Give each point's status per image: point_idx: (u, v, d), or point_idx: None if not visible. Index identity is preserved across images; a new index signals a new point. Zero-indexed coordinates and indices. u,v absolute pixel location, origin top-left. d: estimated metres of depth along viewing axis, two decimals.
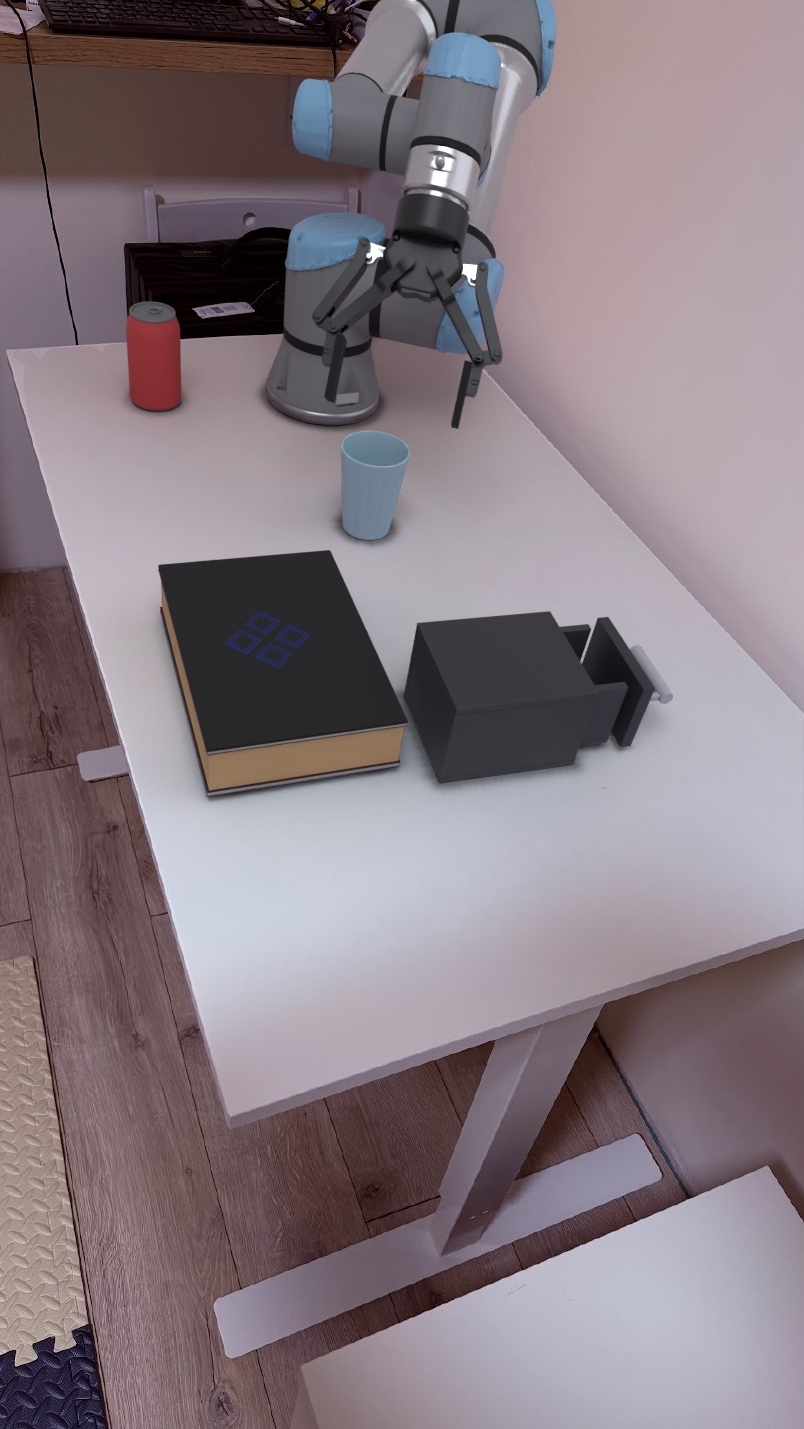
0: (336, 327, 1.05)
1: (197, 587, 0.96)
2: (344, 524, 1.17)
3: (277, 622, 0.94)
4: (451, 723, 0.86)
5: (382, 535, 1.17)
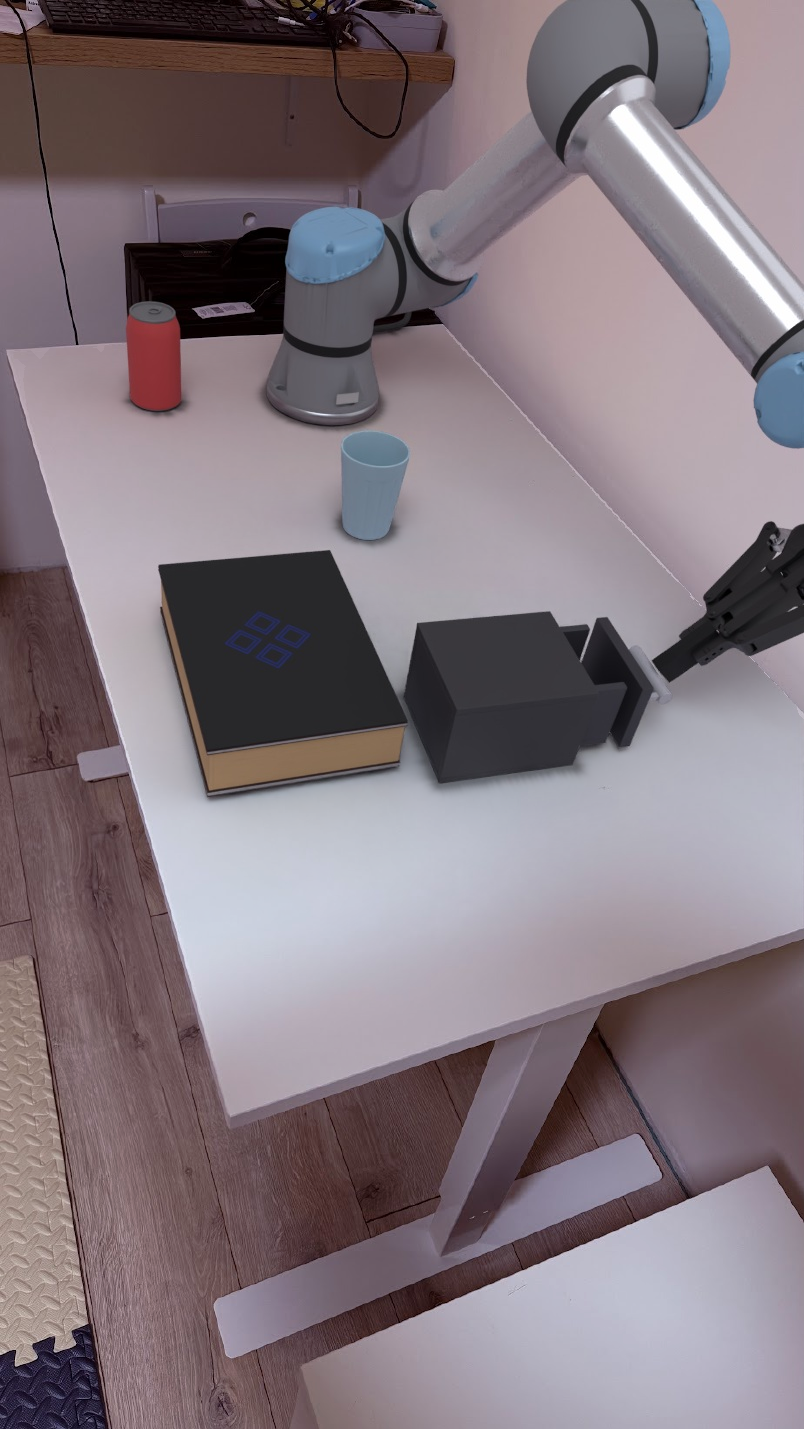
0: None
1: (197, 587, 0.96)
2: (344, 524, 1.17)
3: (277, 622, 0.94)
4: (451, 723, 0.86)
5: (382, 535, 1.17)
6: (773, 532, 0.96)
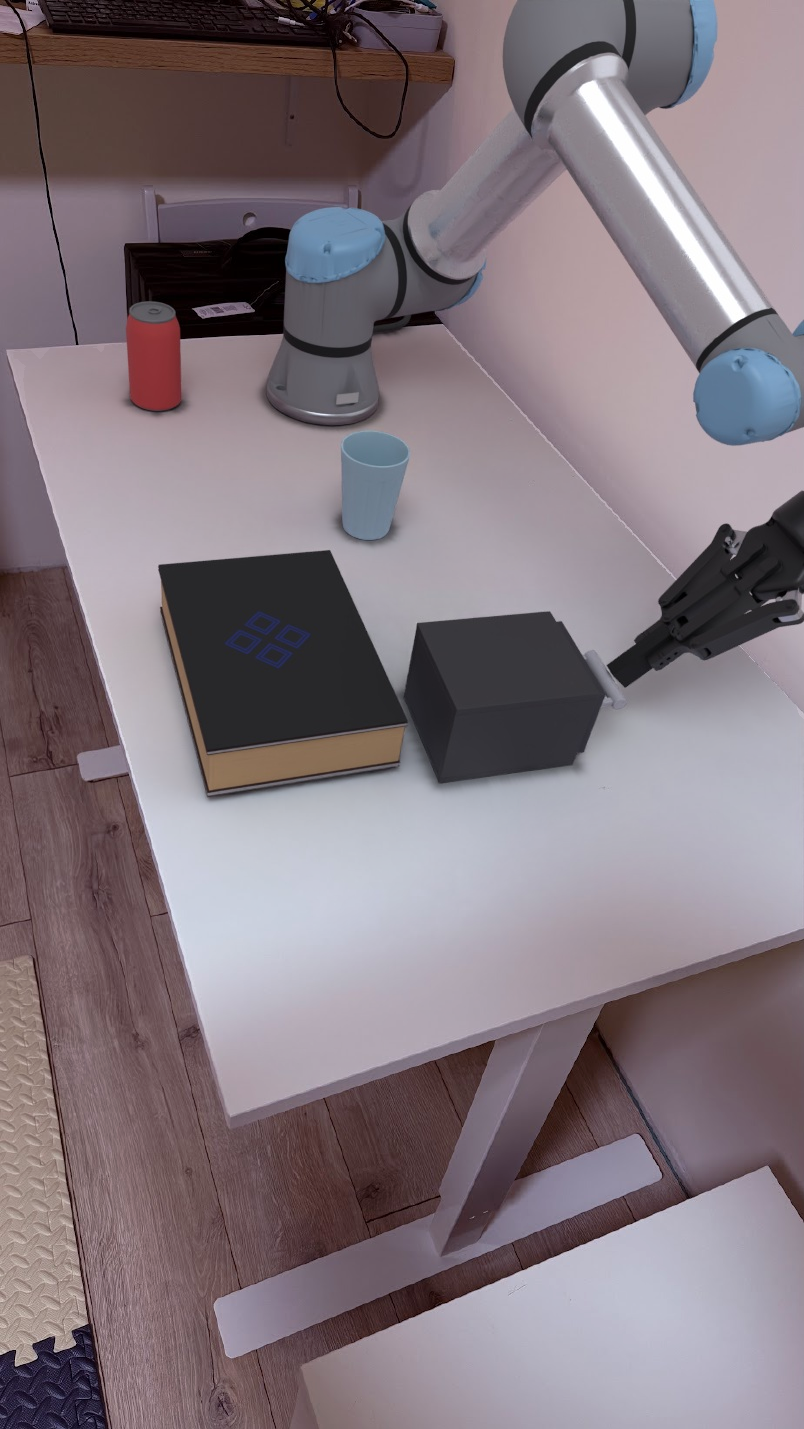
0: None
1: (197, 587, 0.96)
2: (344, 524, 1.17)
3: (277, 622, 0.94)
4: (451, 723, 0.86)
5: (382, 535, 1.17)
6: (728, 534, 0.95)
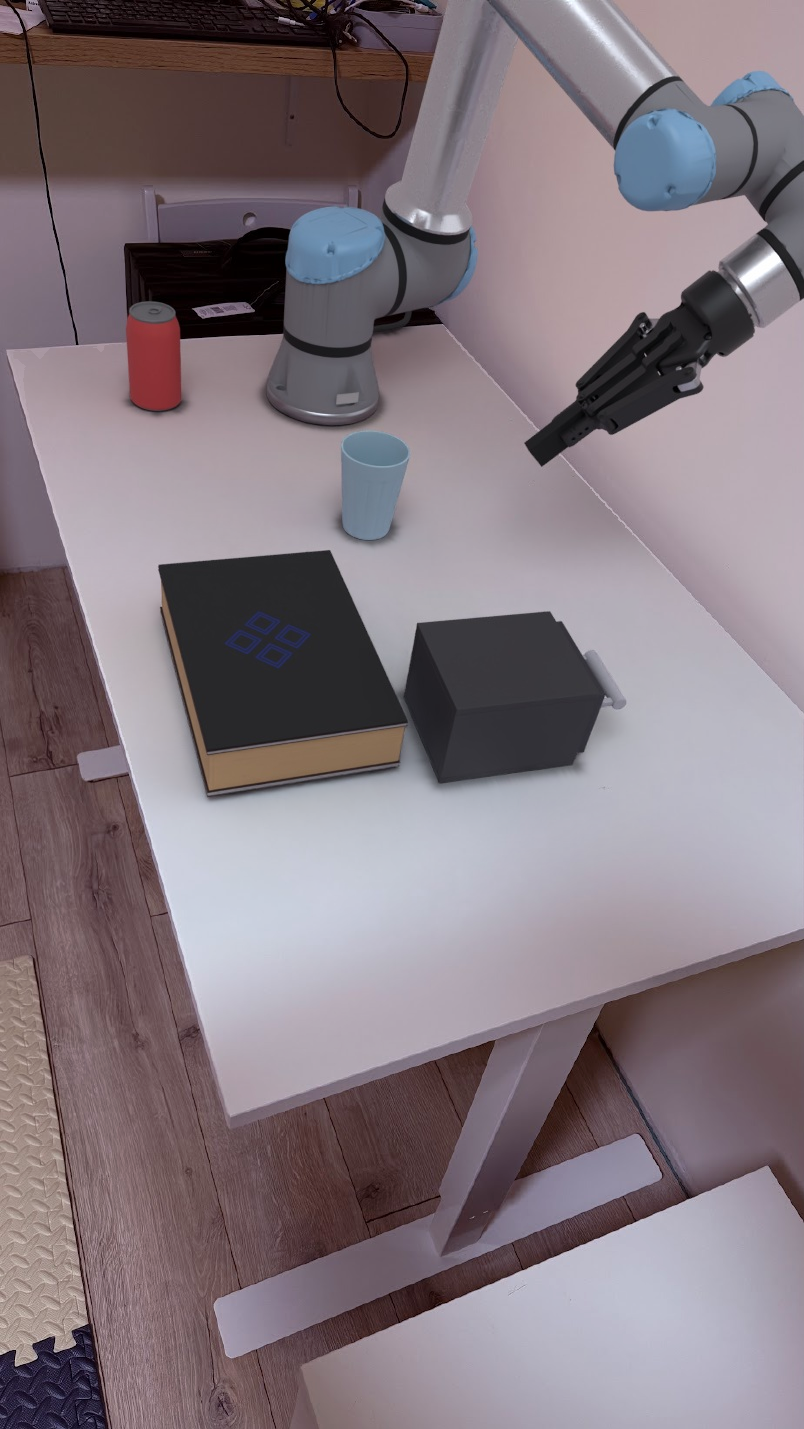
0: None
1: (197, 587, 0.96)
2: (344, 524, 1.17)
3: (277, 622, 0.94)
4: (451, 723, 0.86)
5: (382, 535, 1.17)
6: (643, 321, 1.01)
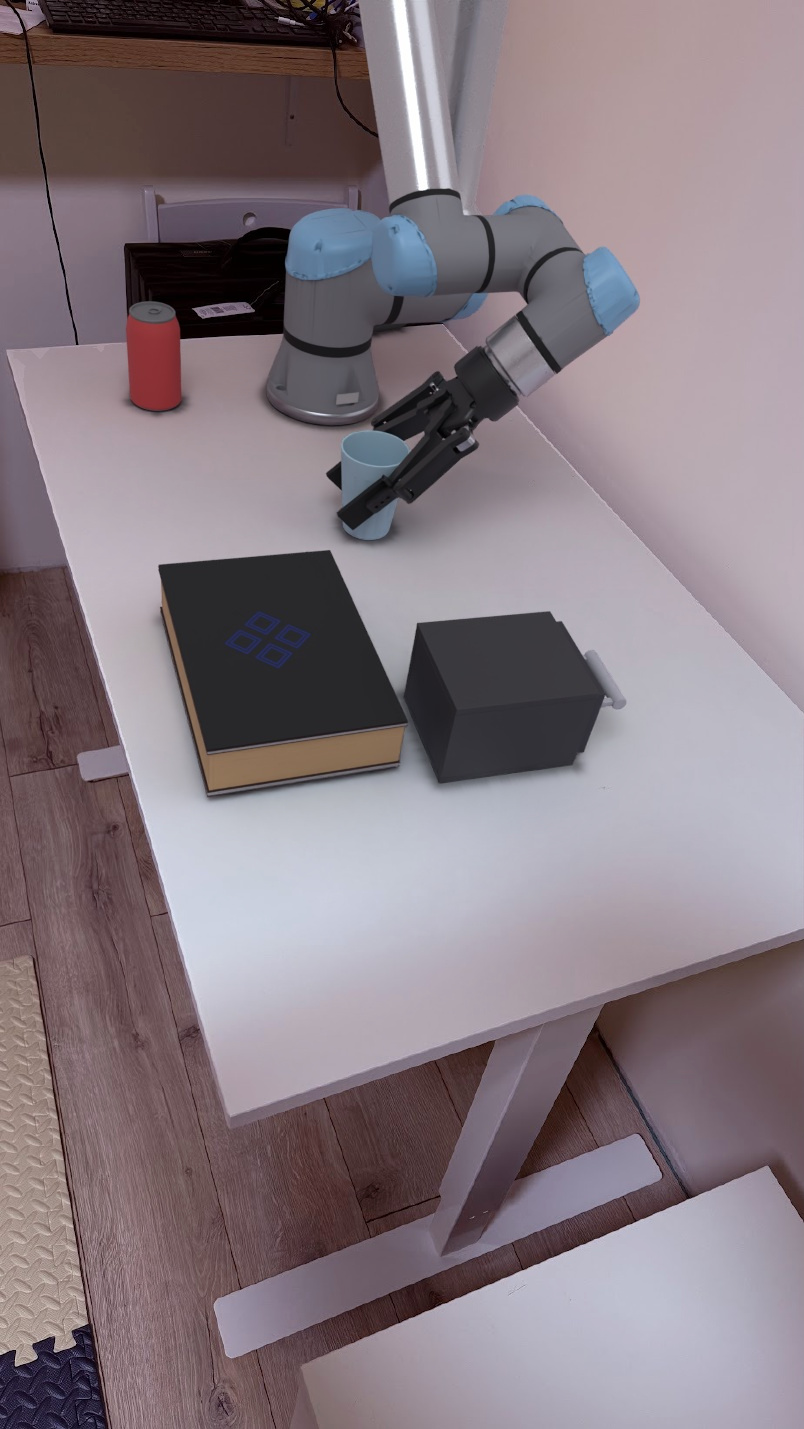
0: None
1: (197, 587, 0.96)
2: (344, 524, 1.17)
3: (277, 622, 0.94)
4: (451, 723, 0.86)
5: (382, 535, 1.17)
6: (435, 380, 1.13)
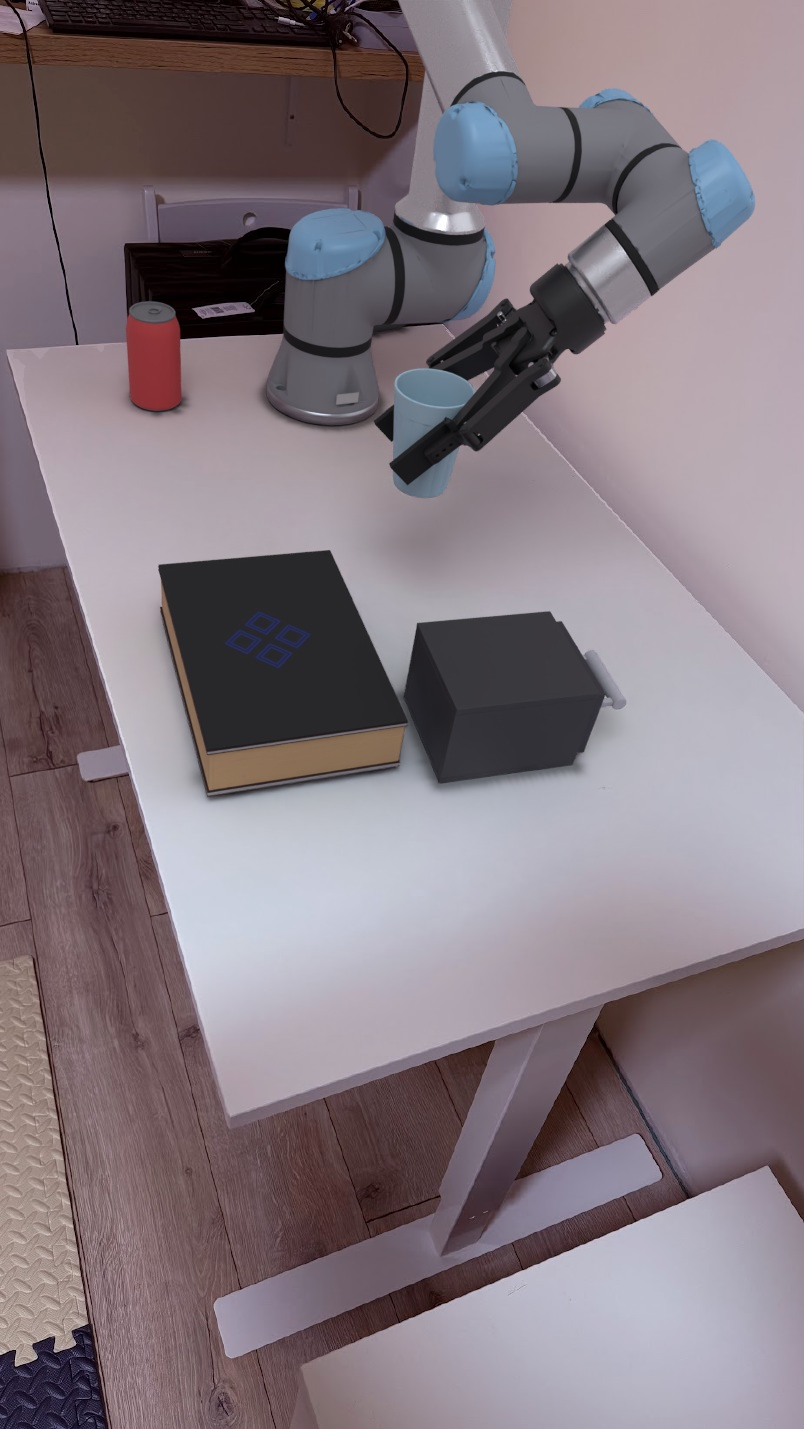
0: None
1: (197, 587, 0.96)
2: (395, 480, 1.00)
3: (277, 622, 0.94)
4: (451, 723, 0.86)
5: (440, 492, 1.00)
6: (503, 309, 0.96)
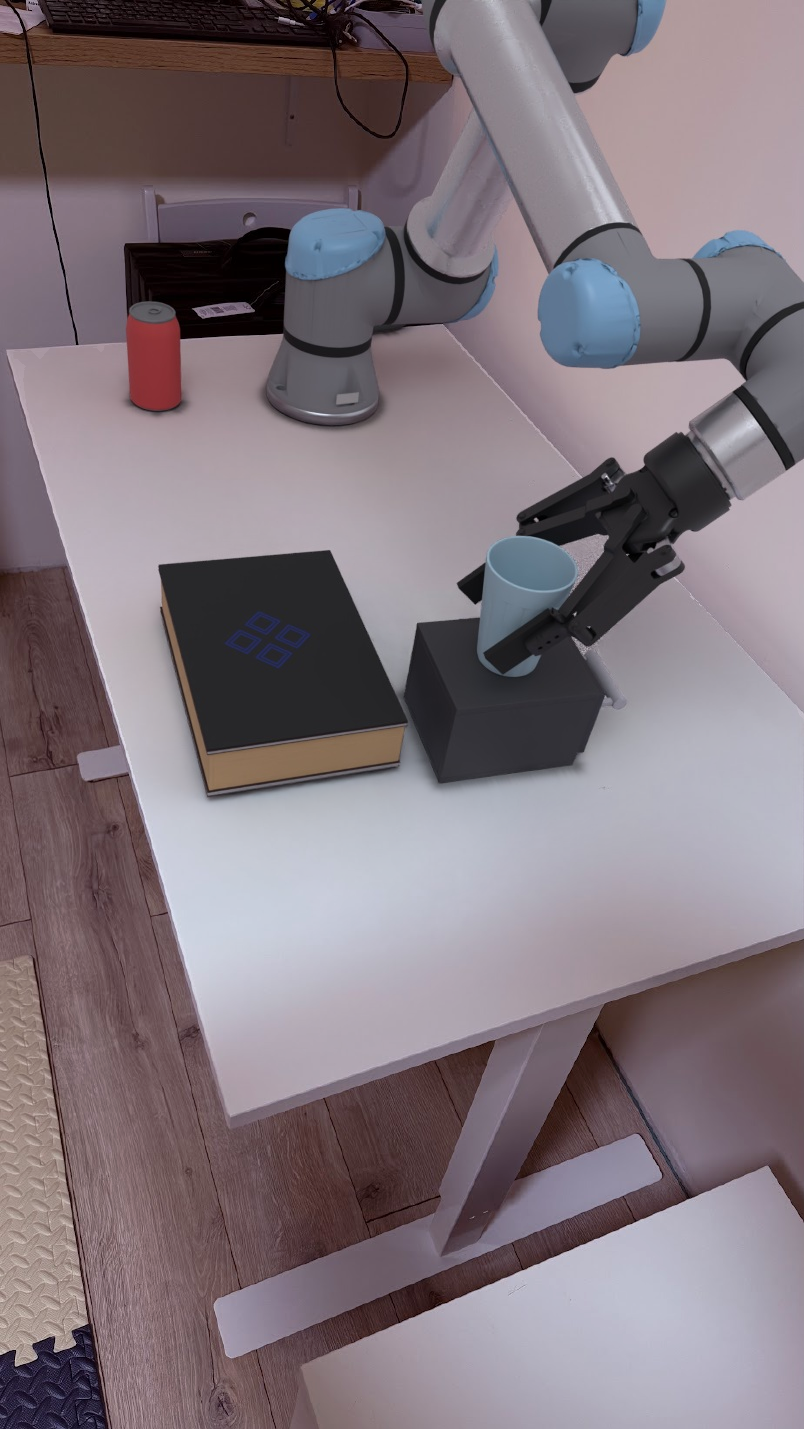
0: None
1: (197, 587, 0.96)
2: (481, 656, 0.89)
3: (277, 622, 0.94)
4: (451, 723, 0.86)
5: (531, 670, 0.89)
6: (609, 471, 0.85)
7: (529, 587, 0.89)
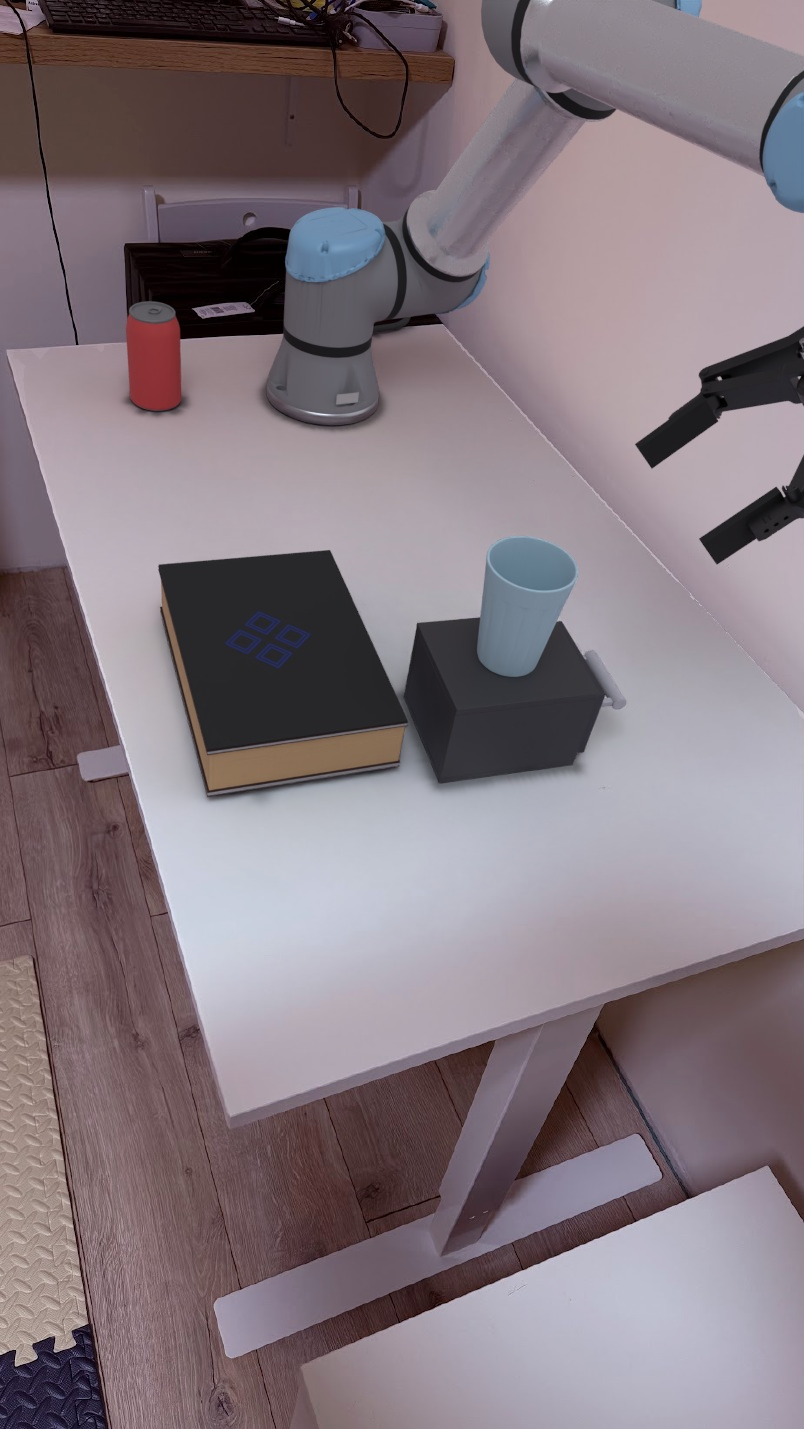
0: None
1: (197, 587, 0.96)
2: (481, 656, 0.89)
3: (277, 622, 0.94)
4: (451, 723, 0.86)
5: (531, 670, 0.89)
6: None
7: (529, 587, 0.89)
